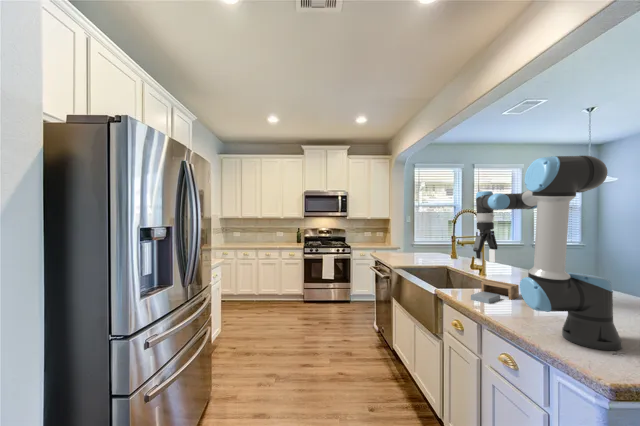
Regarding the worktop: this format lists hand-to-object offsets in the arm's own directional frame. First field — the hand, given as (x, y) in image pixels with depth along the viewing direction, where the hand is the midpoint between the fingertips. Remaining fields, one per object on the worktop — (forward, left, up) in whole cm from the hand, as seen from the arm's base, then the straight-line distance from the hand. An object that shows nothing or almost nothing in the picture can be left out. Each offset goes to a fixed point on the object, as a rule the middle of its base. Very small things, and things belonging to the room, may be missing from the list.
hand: (486, 263), depth 145 cm
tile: (+5, +4, -21) cm, 21 cm away
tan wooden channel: (+19, +4, -20) cm, 28 cm away
